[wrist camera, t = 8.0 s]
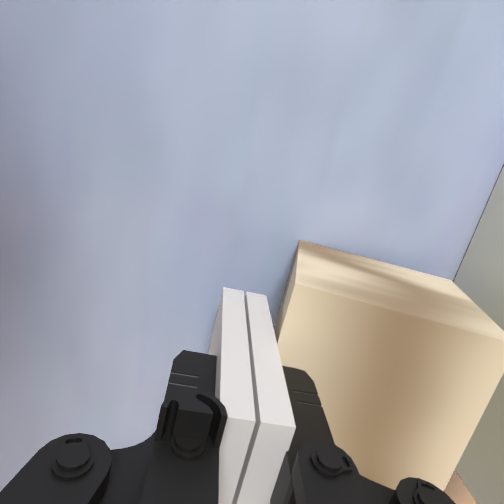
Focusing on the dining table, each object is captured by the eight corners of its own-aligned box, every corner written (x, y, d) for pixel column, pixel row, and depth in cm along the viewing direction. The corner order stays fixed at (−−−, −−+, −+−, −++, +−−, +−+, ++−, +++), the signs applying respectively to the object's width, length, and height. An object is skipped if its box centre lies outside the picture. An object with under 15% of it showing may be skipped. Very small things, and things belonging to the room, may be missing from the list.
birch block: (263, 366, 17) (245, 453, 12) (299, 239, 15) (295, 283, 10) (397, 406, 17) (433, 511, 12) (450, 280, 15) (518, 344, 10)
